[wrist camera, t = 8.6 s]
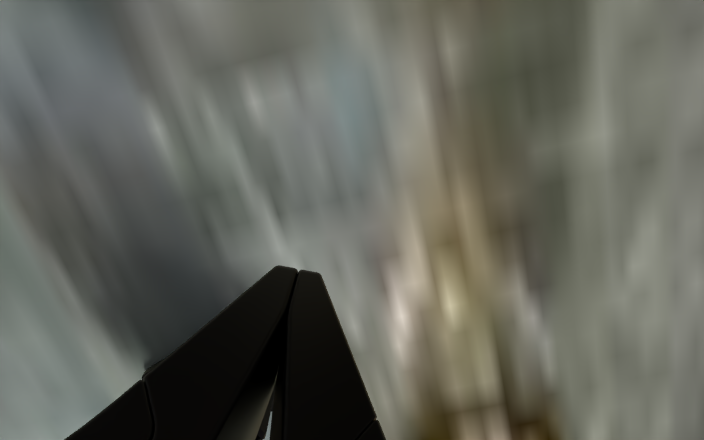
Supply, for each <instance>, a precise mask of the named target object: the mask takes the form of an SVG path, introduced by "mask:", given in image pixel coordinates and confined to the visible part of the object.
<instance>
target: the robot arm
mask: <svg viewBox="0 0 704 440" xmlns="http://www.w3.org/2000/svg"><path fill="white" fill-rule="evenodd" d="M276 377H277V378H276ZM271 411H272V421H271V432H270V440H386V438H385V436H384V433H383V431H382V428H381V426H380V423H379V421H378V420H376V418H377V416H376V413H375V411H374V408H373V406H372V403H371V401H370V398H369V396H368V393H367V391H366V388H365V385H364V383H363V380H362V378H361V375H360V373H359V370H358V368H357V365H356V363H355V360H354V357H353V355H352V352H351V350H350V347H349V345H348V342H347V340H346V337H345V335H344V332H343V329H342V327H341V324H340V322H339V319H338V317H337V314H336V312H335V309H334V307H333V304H332V301H331V299H330V296H329V294H328V291H327V289H326V286H325V284H324V281H323V279H322V276H321V274H319V273H317V272H312V271H306V270H300V271H299V272H298V271H297V269H295V268H290V267H285V266H275V267H274V268H273V269H272V270H270V271H269V272H268V273H267V274H266V275H265V276H263V277H262V278H261V279H260V280H259V281H257V282H256V283H255V284H254V285H253V286H251V287H250V288H249V289H248V290H247V291H245V292H244V293H243V294H242V295H241V296H240V297H238V298H237V299H236V300H235V301H234V302H232V303H231V304H230V305H229V306H228V307H226V308H225V309H224V310H223V311H222V312H220V313H219V314H218V315H217V316H216V317H215V318H213V319H212V320H211V321H210V322H209V323H207V324H206V325H205V326H204V327H203V328H201V329H200V330H199V331H198V332H197V333H195V334H194V335H193V336H192V337H191V338H190V339H188V340H187V341H186V342H185V343H184V344H182V345H181V346H180V347H179V348H178V349H176V350H175V351H174V352H173V353H172V354H170V355H169V356H168V357H167V358H166V359H164V360H162V361H160V362H159V363H157V364H155V365H153V366H152V367H150V368H148V369H147V370H146V371H145V372H144V374H143V376H142V380H139V381H138V382H137V383H136V384H134V385H133V386H132V387H131V388H130V389H128V390H127V391H126V392H125V393H124V394H123V395H121V396H120V397H119V398H118V399H116V400H115V401H114V402H113V403H111V404H110V405H109V406H108V407H106V408H105V409H104V410H103V411H101V412H100V413H99V414H98V415H96V416H95V417H94V418H93V419H91V420H90V421H89V422H88V423H86V424H85V425H84V426H82V427H81V428H80V429H78V430H77V431H75V432H74V433H73V434H71V435H70V436H69V437H67V438H66V439H64V440H263V439H264V438H265V436H266V431H267V426H268V422H269V417H270V412H271Z"/></svg>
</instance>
